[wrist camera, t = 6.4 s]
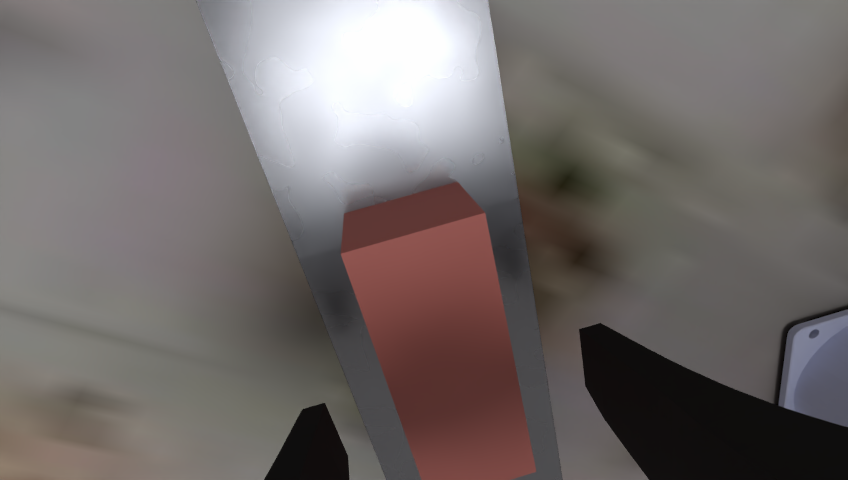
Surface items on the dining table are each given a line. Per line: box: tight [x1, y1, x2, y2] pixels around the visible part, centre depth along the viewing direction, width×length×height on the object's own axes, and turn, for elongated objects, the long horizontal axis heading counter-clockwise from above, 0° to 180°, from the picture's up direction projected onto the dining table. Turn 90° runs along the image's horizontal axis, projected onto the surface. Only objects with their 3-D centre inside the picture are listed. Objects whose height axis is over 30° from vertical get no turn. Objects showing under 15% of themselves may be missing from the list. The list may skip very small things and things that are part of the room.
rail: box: [196, 0, 563, 480], centre depth 16 cm, size 7×22×2 cm, turn 13°
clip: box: [341, 182, 536, 480], centre depth 14 cm, size 4×9×5 cm, turn 14°
